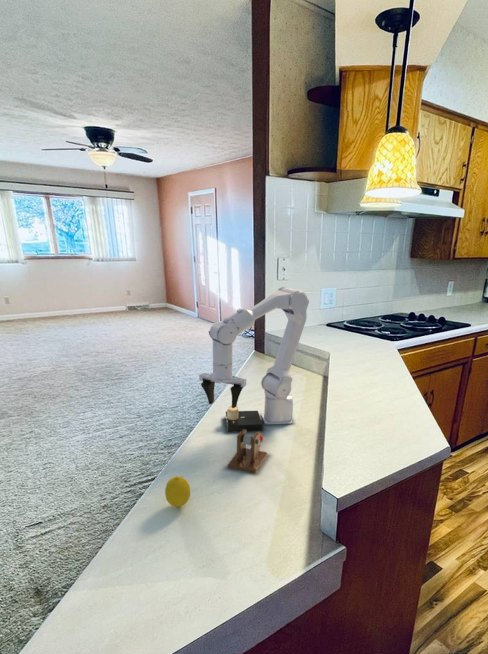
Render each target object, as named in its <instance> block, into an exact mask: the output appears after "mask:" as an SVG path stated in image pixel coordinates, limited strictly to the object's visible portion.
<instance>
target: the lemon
mask: <svg viewBox="0 0 488 654" xmlns="http://www.w3.org/2000/svg"><path fill="white" fill-rule="evenodd" d="M164 495H165V500H166V502H167V503H168V504H169V505H170V506H172V507H176V508H180V507H182V506H184V505H186V504H187V503H188V501H189V499H190V497H191V487H190V484H189V481H188V480H187V479H186V478H184V477H183V476H178V475H176V476H174V477H172V478H170V479H169V480H168V481H167V482H166V484H165V488H164Z"/></svg>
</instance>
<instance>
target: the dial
mask: <svg viewBox="0 0 488 654" xmlns="http://www.w3.org/2000/svg"><path fill="white" fill-rule="evenodd" d="M226 410H227V418H228V419H229V420H237V419H238V411H239V407H238V406H236V407H235V408H232V405H230V406H227V408H226Z"/></svg>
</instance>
